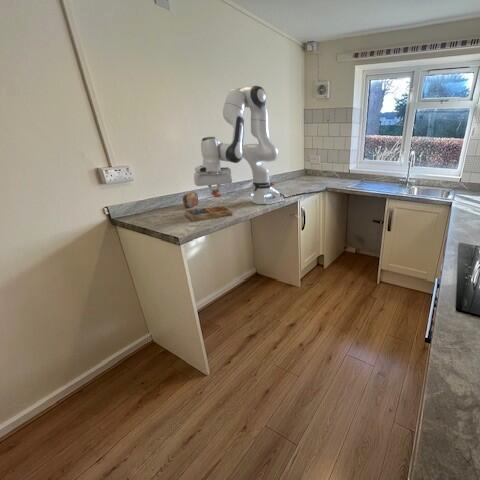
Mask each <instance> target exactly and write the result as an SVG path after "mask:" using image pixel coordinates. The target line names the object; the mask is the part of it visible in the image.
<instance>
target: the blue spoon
mask: <svg viewBox="0 0 480 480" xmlns="http://www.w3.org/2000/svg"><path fill="white" fill-rule="evenodd" d="M194 209H195V211H196V214H197V215H202V214H203V213H201V210H199V209H200V208H198V207H197V208H196V207H195V208H194Z"/></svg>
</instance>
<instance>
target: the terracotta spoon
mask: <svg viewBox="0 0 480 480" xmlns="http://www.w3.org/2000/svg"><path fill="white" fill-rule="evenodd" d="M211 195H212V196H213V197H214V198H221V197H222V195H221V193H218V192H217V191H216V189H214V193H211Z"/></svg>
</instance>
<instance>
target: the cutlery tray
mask: <svg viewBox="0 0 480 480" xmlns="http://www.w3.org/2000/svg"><path fill="white" fill-rule="evenodd" d="M198 209H199V210H201V213H203V214H202V215H197V214H196V211H195V208H194V209H187V210H185V211H184V212H185V216H186V217H187V218H188V219H189V220H190V221H192V222H196V221H203V220H209V219H216V218H223V217H229V216H232V215H233V212H232V211H233V210H231V209H230V208H228V207H227V206H226V205H215V206H209V207H201V208H198Z"/></svg>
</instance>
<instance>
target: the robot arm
mask: <svg viewBox="0 0 480 480" xmlns="http://www.w3.org/2000/svg"><path fill="white" fill-rule="evenodd" d="M226 95H227V96H226V97H225V101H224V104H223V108H222V117H223V119H224V120H225V121H226V123H228V124H229V125H230V126H232V127H233V133H232V139H231V140H232V141H231V142H230V143H224V142H222V141H220V140H218V139H217V138H216V137H215V136H206V137H203V138H202V139H201V141H200V147H201V148H200V149H201V151H200V152H201V156H202V164H201V165H199V166H195V167H194V171H195V172H194V174H193V181H194V182H193V183H194V185H195V186H196V187H204V186H208V188H209V190H210V193H211V194H212V193H214V190H216V191H217V193H220V188H221V186H222V185H227V184H228V185H229V184H232V183H233V178H232V169H231V168H229V167H221V161H222V162H229V163H234V164H239V163H240V162H241V161H242V160H243V159H244V160H246V161H245V162H247V163H248V165H249V166H250V169H251V173H252V190H253V193H251V194H250V195H251V196H252V201H251V202H252V203H253V204H257V205H272V204H277V203H283V202H284V201H285V200H284V199H289V198H291V197H295V196H300V195H306V194H313V193H314V194H315V193H322V192H326V191H327V190H326V189H325V188H323V189H321V190H316V191H315V190H314V191H307V192H308V193H306V192H300V193H301V194H300V193H296V195H295V194H292V196H291V195H287V196H285V195H284V194H282V193H281V192H280V191H279V190H277V189H276V188H274V187H273V186H275V185H276V184H275V182H271V181H270V171H269V169H268V168H267V167H265V166H264V165H263V163H262V162H265V163H268V162H269V163H270V162H275V161H276V160H277V159H278V158H279V150H278V148H277V147H276V146H275V144H274V143H273V141H272V139H270V134H269V115H268V114H269V113H268V108H267V105H266V102H267V94H266V91H265V90H264V88H263V87H262V86H260V85H248V86H245V87H239V88H232V89H230V90H229V91H228V93H227V94H226ZM245 108H249V110H250V133H251V135H252V137H254V138H256V140H257V142H258V143H247V144H246V143H245V144H244V139H245V132H246V131H245V130H246V122H245V119H244V114H245ZM213 186H217V188H215V189H214V188H212V187H213Z"/></svg>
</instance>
